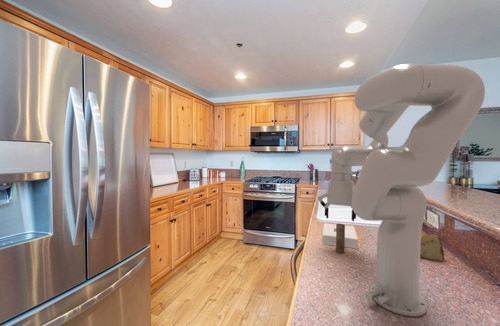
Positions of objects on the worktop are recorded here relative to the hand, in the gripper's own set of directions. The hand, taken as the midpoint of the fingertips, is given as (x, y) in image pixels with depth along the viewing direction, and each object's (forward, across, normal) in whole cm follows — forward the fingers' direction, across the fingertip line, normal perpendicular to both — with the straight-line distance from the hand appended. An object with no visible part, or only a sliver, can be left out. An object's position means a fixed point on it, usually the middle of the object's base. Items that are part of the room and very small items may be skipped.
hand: (339, 218), depth 89 cm
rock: (+13, -31, -6) cm, 35 cm away
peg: (+13, 0, +1) cm, 13 cm away
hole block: (+14, 0, -14) cm, 19 cm away
